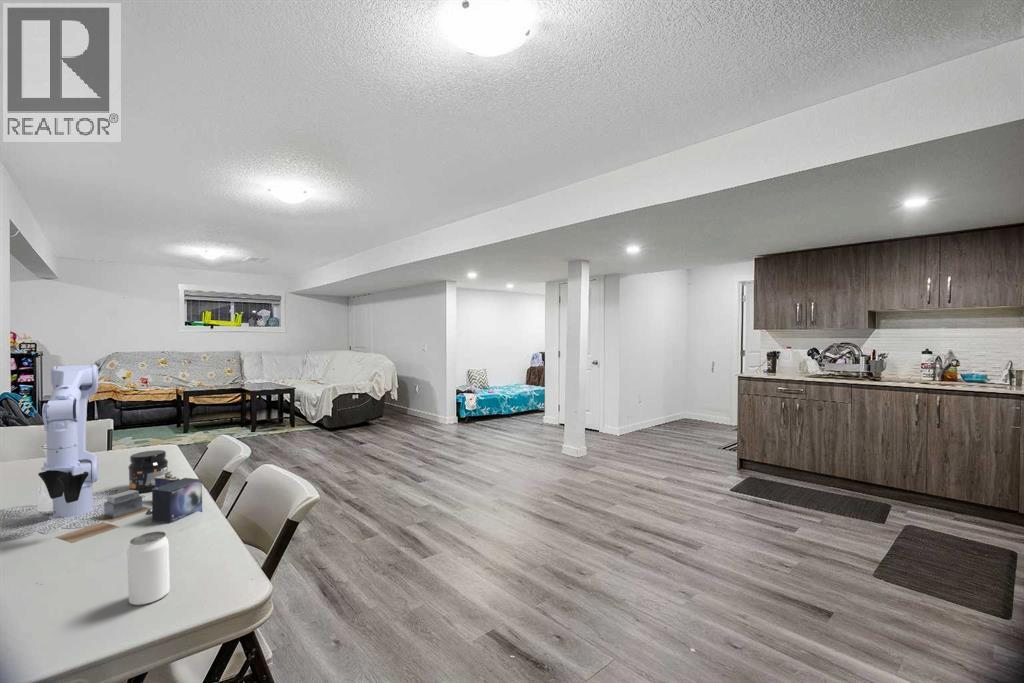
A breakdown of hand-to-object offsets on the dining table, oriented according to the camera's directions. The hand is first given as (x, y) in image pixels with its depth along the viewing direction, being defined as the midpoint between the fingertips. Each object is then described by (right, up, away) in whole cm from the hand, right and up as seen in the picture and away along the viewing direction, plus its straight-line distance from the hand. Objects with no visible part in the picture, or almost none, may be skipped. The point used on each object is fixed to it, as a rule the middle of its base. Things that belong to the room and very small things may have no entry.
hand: (64, 499), depth 118 cm
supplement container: (-9, -10, +39) cm, 41 cm away
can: (+42, -11, -26) cm, 51 cm away
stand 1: (+5, -10, +1) cm, 12 cm away
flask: (+10, -10, +23) cm, 27 cm away
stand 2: (+4, -10, +14) cm, 18 cm away
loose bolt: (+15, -10, +13) cm, 22 cm away
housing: (+4, -9, +14) cm, 17 cm away
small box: (+20, -10, +12) cm, 26 cm away
